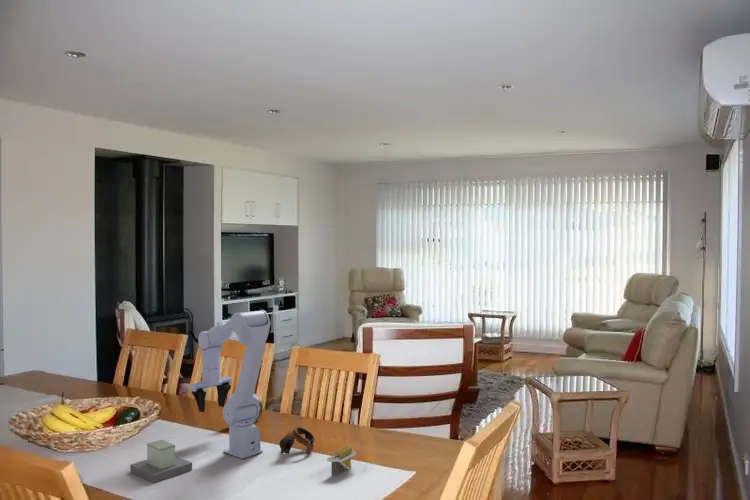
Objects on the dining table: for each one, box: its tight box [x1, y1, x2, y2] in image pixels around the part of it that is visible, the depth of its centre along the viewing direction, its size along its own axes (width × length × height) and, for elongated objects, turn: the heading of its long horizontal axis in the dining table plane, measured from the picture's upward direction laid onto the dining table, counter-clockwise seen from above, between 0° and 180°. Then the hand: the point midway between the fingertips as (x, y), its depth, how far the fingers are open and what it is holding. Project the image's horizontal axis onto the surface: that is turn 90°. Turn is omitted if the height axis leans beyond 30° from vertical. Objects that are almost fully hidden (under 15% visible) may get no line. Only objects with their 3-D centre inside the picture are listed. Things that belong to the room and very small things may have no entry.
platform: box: [326, 445, 357, 476], centre depth 175 cm, size 12×18×7 cm, turn 146°
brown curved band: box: [279, 426, 316, 455], centre depth 189 cm, size 12×10×8 cm
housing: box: [146, 439, 176, 469], centre depth 175 cm, size 4×7×6 cm, turn 49°
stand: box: [129, 455, 193, 484], centre depth 175 cm, size 12×12×2 cm
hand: (211, 408), depth 203 cm, fingers open, 7 cm apart
